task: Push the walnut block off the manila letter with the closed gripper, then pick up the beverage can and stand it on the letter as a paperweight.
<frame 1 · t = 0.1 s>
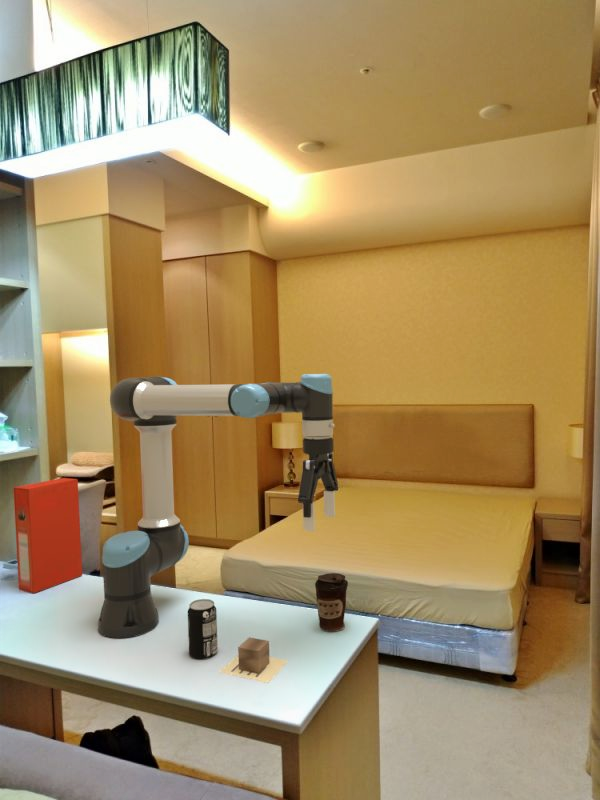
hand: (319, 523, 140), 28 cm above the table, fingers open, 13 cm apart
letter: (254, 667, 127), on the table
file binder: (51, 583, 182), on the table
beverage can: (203, 655, 133), on the table
walnut block: (254, 666, 126), resting on letter
coffee cup: (332, 627, 146), on the table
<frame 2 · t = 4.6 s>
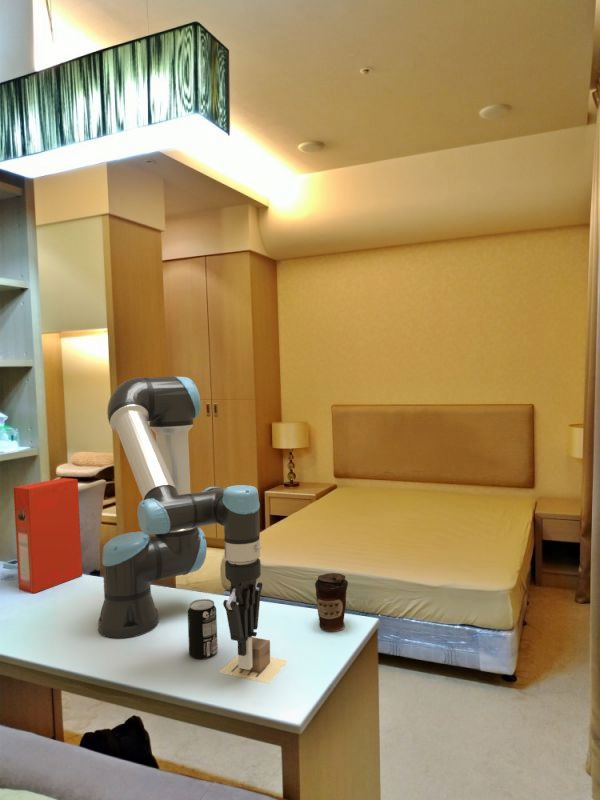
hand: (245, 667, 123), 2 cm above the table, fingers closed
walnut block: (255, 665, 127), resting on letter, touching gripper
everything else where it was.
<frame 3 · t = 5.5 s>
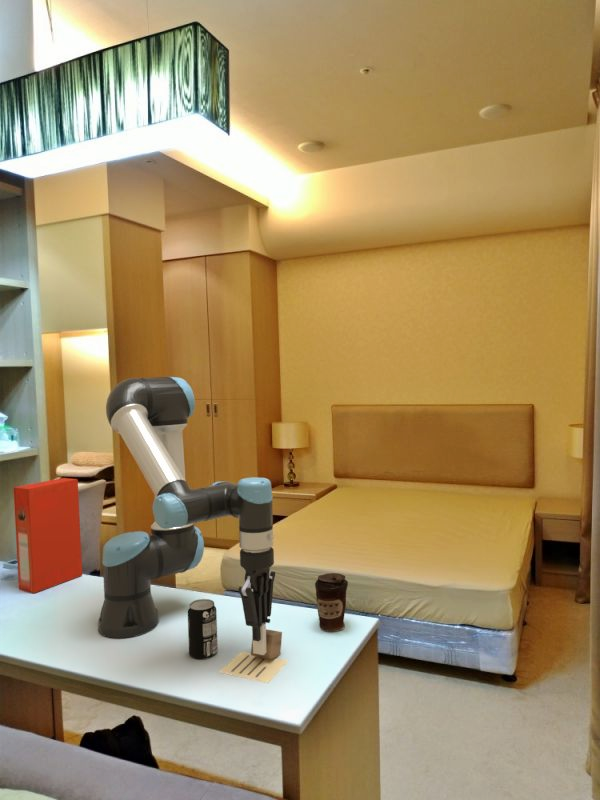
hand: (259, 652, 128), 3 cm above the table, fingers closed
walnut block: (265, 655, 131), point 1 cm above the table, tilted 15°, touching gripper
everything else where it was.
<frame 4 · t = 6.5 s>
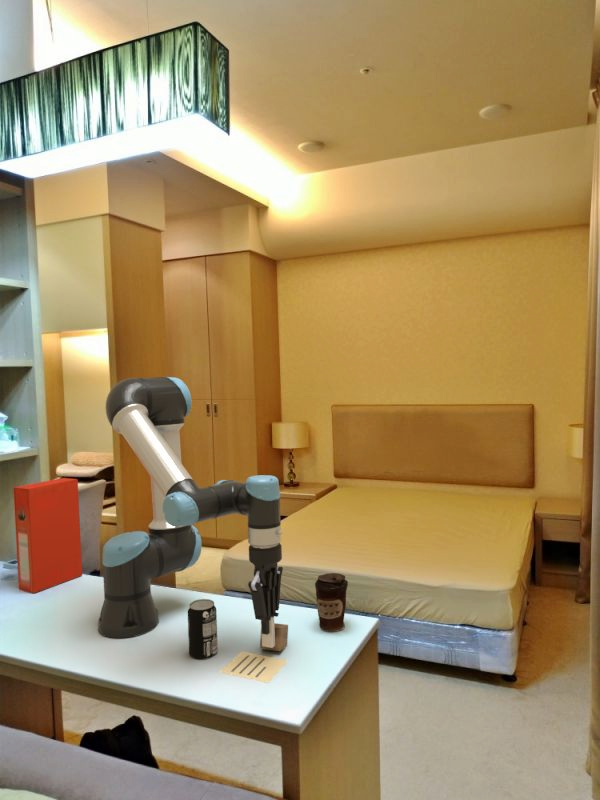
hand: (268, 645, 131), 2 cm above the table, fingers closed
walnut block: (273, 647, 134), point 1 cm above the table, tilted 15°, touching gripper
everything else where it was.
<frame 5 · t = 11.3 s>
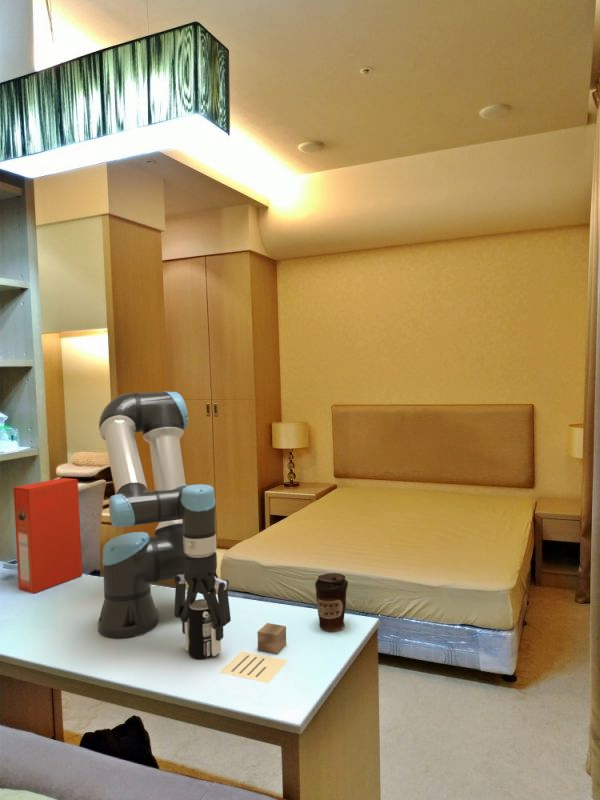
hand: (203, 650, 133), 1 cm above the table, fingers closed on beverage can, 7 cm apart
beverage can: (203, 655, 133), on the table, touching gripper
walnut block: (272, 649, 135), on the table
everything else where it was.
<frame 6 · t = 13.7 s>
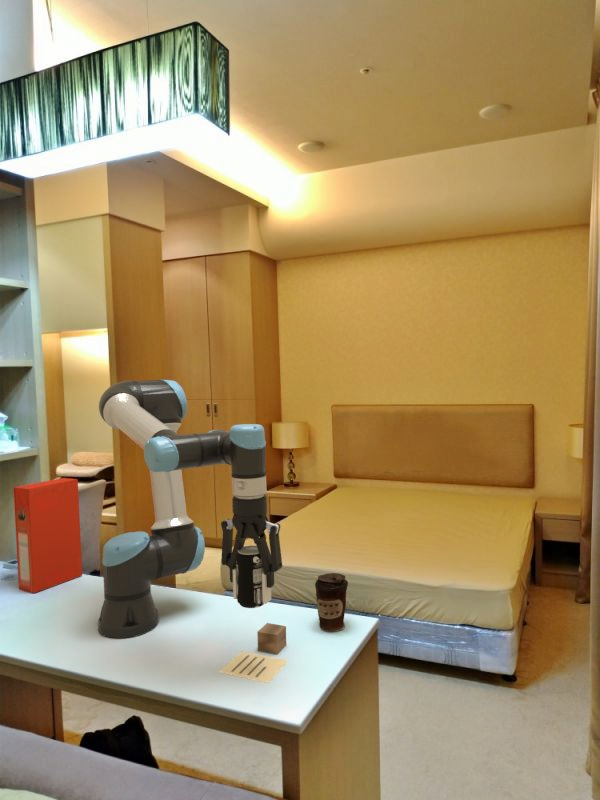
hand: (252, 598, 126), 16 cm above the table, fingers closed on beverage can, 6 cm apart
beverage can: (252, 604, 126), point 14 cm above the table, touching gripper
everything else where it was.
when the fingers open (2 cm above the table, at t = 16.4 s): beverage can drops 1 cm, resting on letter.
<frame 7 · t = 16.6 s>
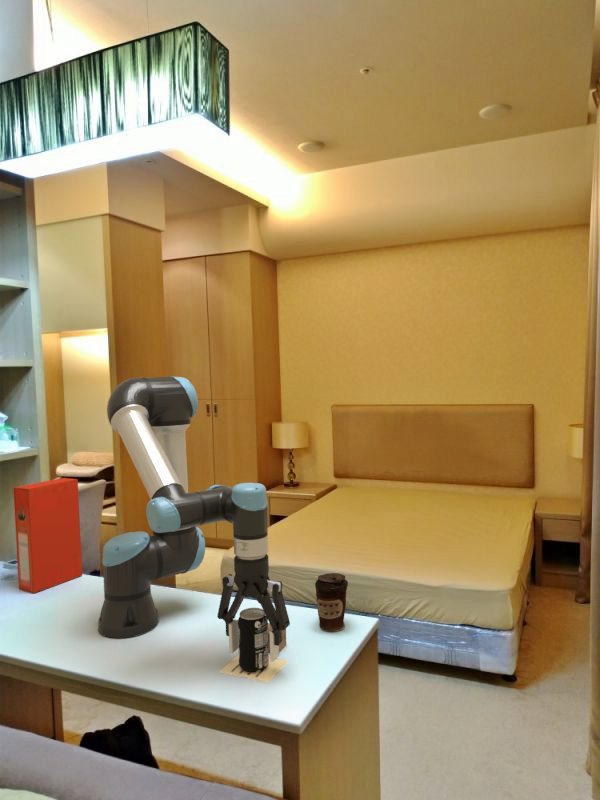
hand: (253, 654, 126), 3 cm above the table, fingers open, 9 cm apart
beverage can: (254, 667, 126), resting on letter
everything else where it was.
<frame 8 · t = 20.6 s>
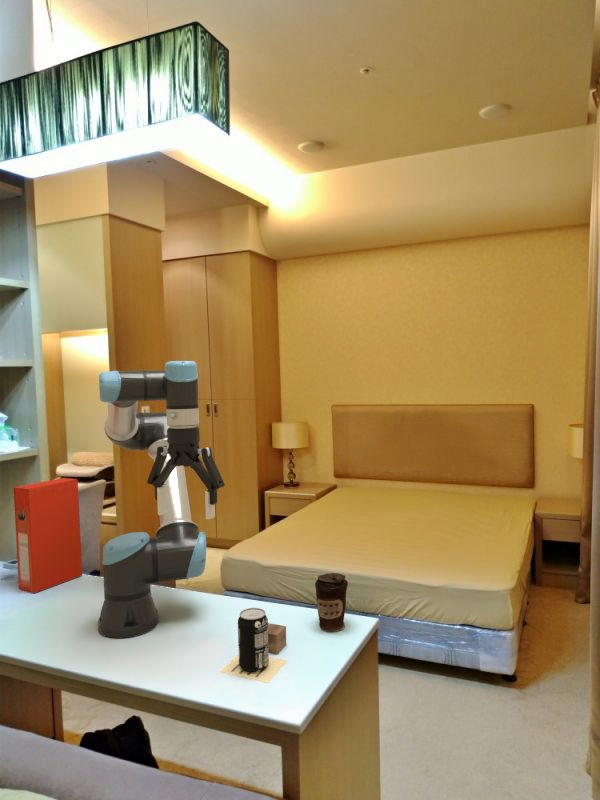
hand: (186, 515, 135), 32 cm above the table, fingers open, 13 cm apart
nothing on the table moved.
at the end: beverage can inside the target area on the letter (0.1 cm from its centre), point 0.1 cm above the letter's base; beverage can tilted 0°; walnut block moved 9.1 cm from its start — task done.
